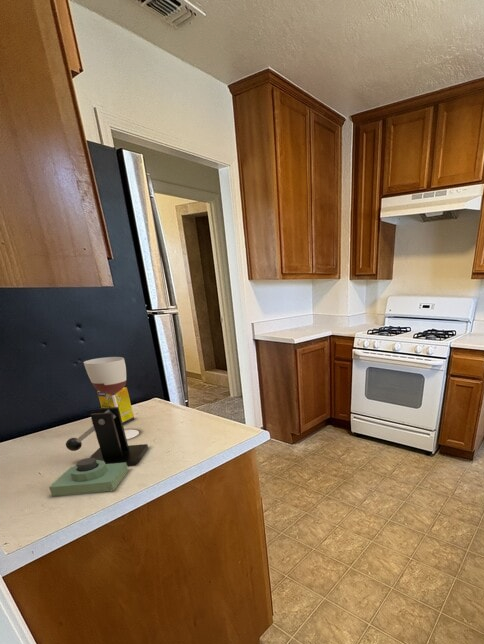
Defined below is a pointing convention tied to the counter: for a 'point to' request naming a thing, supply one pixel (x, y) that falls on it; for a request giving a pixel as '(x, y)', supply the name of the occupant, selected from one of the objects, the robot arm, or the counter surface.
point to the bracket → (114, 439)
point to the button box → (89, 479)
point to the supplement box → (122, 403)
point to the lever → (80, 438)
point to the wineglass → (109, 379)
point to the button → (86, 464)
